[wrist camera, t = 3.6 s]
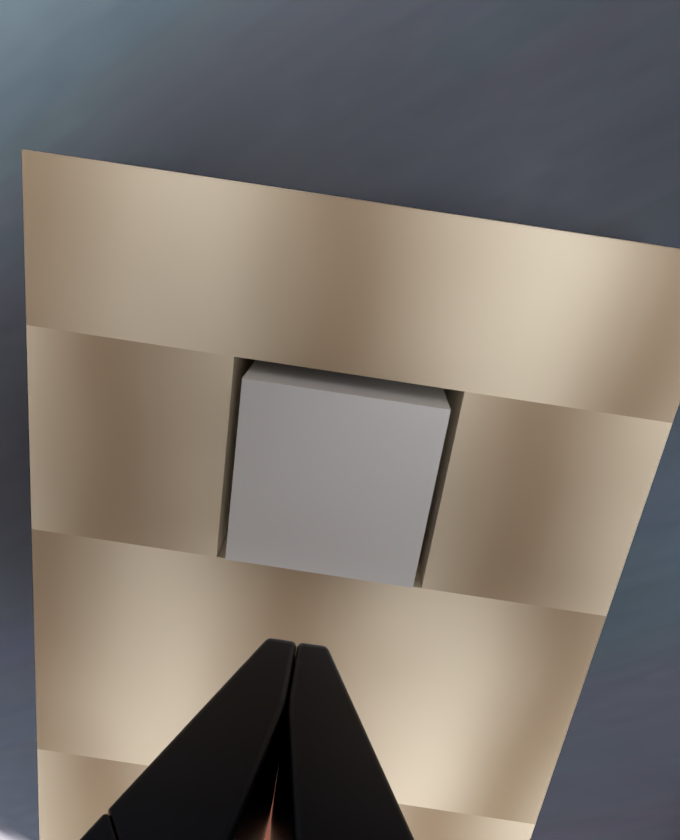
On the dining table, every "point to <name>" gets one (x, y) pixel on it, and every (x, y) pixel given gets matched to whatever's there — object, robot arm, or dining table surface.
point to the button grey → (334, 472)
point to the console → (215, 453)
